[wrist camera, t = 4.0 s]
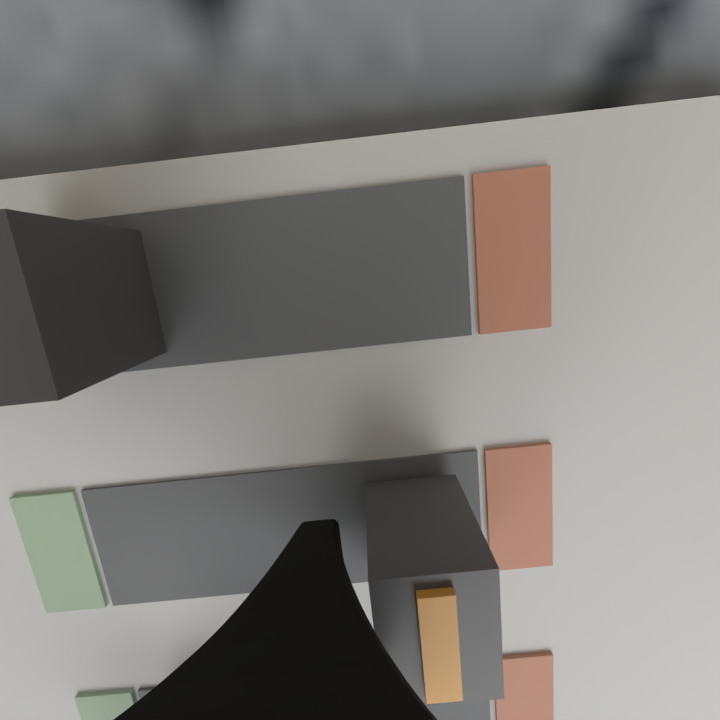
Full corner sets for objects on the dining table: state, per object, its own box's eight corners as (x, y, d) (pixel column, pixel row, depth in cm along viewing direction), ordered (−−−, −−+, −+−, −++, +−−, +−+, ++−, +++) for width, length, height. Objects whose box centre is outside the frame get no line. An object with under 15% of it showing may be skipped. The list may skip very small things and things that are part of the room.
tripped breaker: (461, 571, 12) (507, 709, 8) (376, 579, 12) (384, 720, 8) (455, 474, 11) (502, 576, 7) (365, 483, 11) (368, 589, 7)
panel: (683, 708, 15) (859, 949, 10) (-5, 768, 16) (-192, 1026, 10) (732, 110, 11) (1099, -42, 5) (-224, 222, 11) (-741, 183, 6)
